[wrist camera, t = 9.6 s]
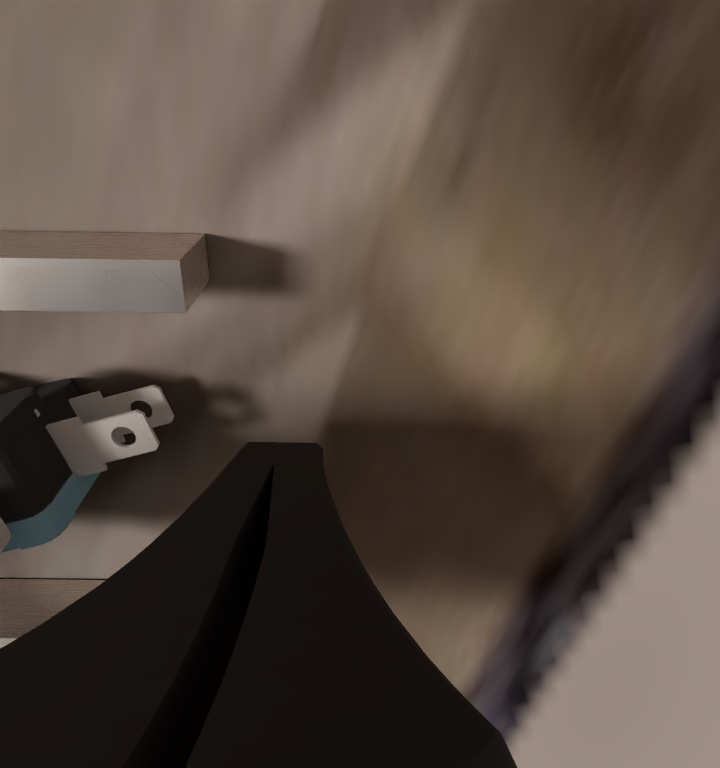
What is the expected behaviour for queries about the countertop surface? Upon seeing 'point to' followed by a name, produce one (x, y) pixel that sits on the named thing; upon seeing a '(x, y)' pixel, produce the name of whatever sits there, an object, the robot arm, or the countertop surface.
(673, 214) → the countertop surface
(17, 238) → the rail
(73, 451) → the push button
